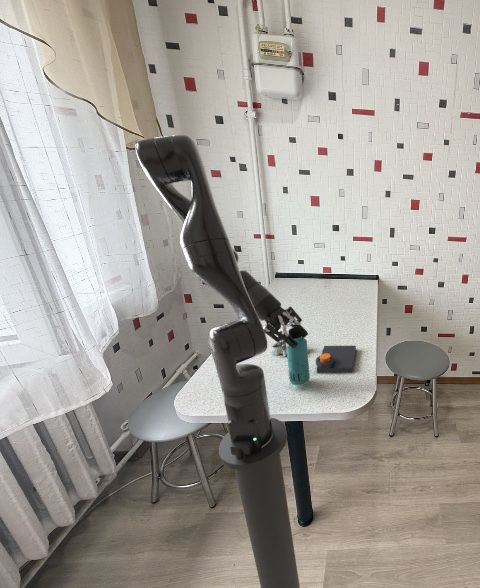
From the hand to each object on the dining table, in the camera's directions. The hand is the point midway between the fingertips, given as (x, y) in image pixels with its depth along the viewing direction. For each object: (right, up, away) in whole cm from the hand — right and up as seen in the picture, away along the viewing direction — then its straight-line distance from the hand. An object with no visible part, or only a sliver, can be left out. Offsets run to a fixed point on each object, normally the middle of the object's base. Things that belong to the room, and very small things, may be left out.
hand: (301, 340), depth 101 cm
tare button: (+4, -9, +15) cm, 17 cm away
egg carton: (-13, -8, +24) cm, 29 cm away
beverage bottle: (-2, -15, +6) cm, 17 cm away
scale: (+7, -10, +20) cm, 24 cm away
